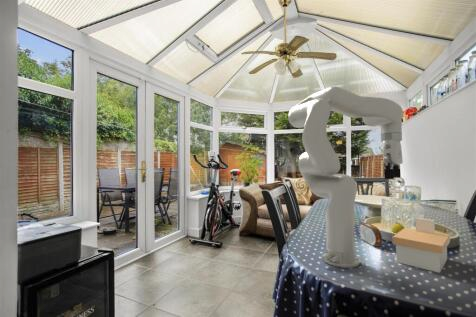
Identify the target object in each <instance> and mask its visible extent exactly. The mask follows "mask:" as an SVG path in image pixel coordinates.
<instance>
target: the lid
mask: <svg viewBox="0 0 476 317" xmlns="http://www.w3.org/2000/svg"><path fill="white" fill-rule="evenodd" d="M414 220H415V221H414V222H415V228H410V227H404V229H403V230H401V231H400V232H398V233H397V234H395V235H394V236H393V235H392V238H391V239H392V240H391V241H392V242H391V243H392V244H393V245H396V244H397V245H402V246H407V247H412V248H416V249H421V250H426V251H431V252H436V253H440V254H443V252H444V251H445V249H446V247H447V248H448V246H449V244H450V243H451V234H449V233H448V234H447V233H441V232H436V224H435V219H429V218H423V217H422V218H421V217H415V219H414Z"/></svg>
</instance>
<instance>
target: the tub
mask: <svg viewBox="0 0 476 317" xmlns="http://www.w3.org/2000/svg"><path fill="white" fill-rule="evenodd" d="M395 253H396V254H395V258H396V262H397V263H399V264H404V265H406V266H407V265H408V266H411V267H415V268H419V269H422V270H425V271H431V272H435V273H439V274H440V273H441V272H442V270H443V268H444V266H445V265H446V262H447V260H448V246H447V247H446V249H445V251H444V252H443V254H440V253H436V252H431V251H426V250H421V249H416V248H412V247H407V246H402V245H397V244H395Z"/></svg>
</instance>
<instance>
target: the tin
mask: <svg viewBox="0 0 476 317" xmlns="http://www.w3.org/2000/svg"><path fill="white" fill-rule="evenodd" d="M358 230H359V236H360V238H361V239H362V241H364V242H365V243H366V244H368V245H370V246H371V247H381V246H382V244H383V237H382V233H381V231H380V229H379V228H378V227H377V226H375V225H373V224H371V223H370V222H367V221H366V222H361V223H359V225H358Z"/></svg>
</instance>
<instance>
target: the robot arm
mask: <svg viewBox="0 0 476 317" xmlns="http://www.w3.org/2000/svg"><path fill="white" fill-rule="evenodd" d="M331 112H334V113H337V114H340V115H343V116H346V117H348V118H351V119H352V118H354V119H355V118H356V119H358V118H359V119H362V121H363V122H362V123H364V125H366V126H368V127H377V126H378V127H379V126H380V142H381V143H382V161H383V165H384V166H383V167H384V168H383V170H384V171H383V172H384V173H383V174H384V180H394V179H395V178H397V179H399V178H400V179H401V178H402V177H401V175H402V174H401V165H402V164H403V162H404V161H403V152H402V150H403V149H402V144H401V142H403V131H402V130H403V129H402V127H403V126H402V119H403V116H404V109H403V108H402V106H401V105H400V104H398V103H397V102H395V101H393V100H391V99H389V98H385V97H375V96H365V95H363V96H361V95H360V94H359V95H358V94H356V93H354V92H352V91H349V90H347V89H344V88H342V87H339V86H337V85H336V86H329V87H326V88H324V89H322V90H318V91H316V92H313V93H312V94H310V95H309V96H307V97H306V98H304V99H303V100H302V101H300V102H299V103H297V104H295V105H294V106H293V107H291V109H290V110H289V111H288V114H287V115H288V116H287V117H288V118H287V120H288V122H289V124H290V125H291V126H292V127H293V128H297V129H300V128H301V129H302V128H303V131H302V134H301V135H302V136H301V140H302V141H301V142H302V145H303V148H304V151H305V152H302V154H300V155H299V158H298V162H297V163H298V170H299V172H300V174H301V177H303V179H304V181H305V182H306V185H307V186H308V188H309V190H310V191H311V192H312V194H314V195H315V196H317V197H318V198H324V199H329V200H330V201H329V203H328V204H327V206H326V209H325V233H326V234H325V236H326V237H325V238H326V240H325V241H326V243H325V245H326V249H325V250H326V252H324V253H323V254H322V255H321V259H322V261H323V263H326V264H328V265H330V266H333V267H337V268H343V269H344V268H345V269H353V268H357V267H358V266H359V265H361V260H360V259H359V257H357V256H355V255H356V252H355V250H356V248H355V247H356V246H355V244H356V242H355V241H356V240H355V238H356V237H355V204H356V203H355V202H356V197H357V191H358V186H357V182H356V180H355V179H354V178H353V177H352V176H350V175H347V174H345V173H339V172H340V170H341V163H340V159H339V157H338V155H337V153H336V152H335V149H334V148H333V146H332V143H331V142H330V140H329V138H328V135H327V126H328V122H329V119H330V116H331Z"/></svg>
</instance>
